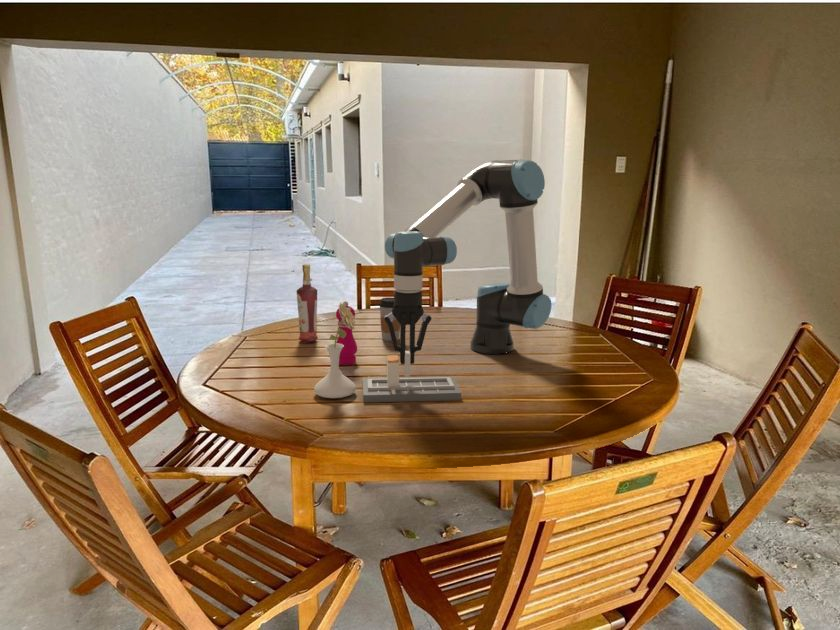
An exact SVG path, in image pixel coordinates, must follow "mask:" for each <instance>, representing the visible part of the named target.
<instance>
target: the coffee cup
mask: <svg viewBox="0 0 840 630" xmlns="http://www.w3.org/2000/svg"><path fill="white" fill-rule="evenodd" d="M378 306H379V310H380V311H379V312H380V313H379V314H380V330H381V338H382V340H383V341H385V342H392V339H391V334H390V330H389V326H388V324H387V323H386V321H385V320H384V316H385V315H388V314H390V313H391V312H392V309H393V307H394V297H384V298H380V302H379V305H378ZM392 324H393V328H394V332H395V336H396V340H397V341H399V339H400V323H399V322H398V321H397V319H396V318H395V317H394V316H393V322H392Z"/></svg>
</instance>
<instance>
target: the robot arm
mask: <svg viewBox="0 0 840 630" xmlns="http://www.w3.org/2000/svg"><path fill="white" fill-rule="evenodd" d="M545 180H546V179H545V175H544V172H543V170H542V168H541V166H539V165H538V163H537V162H535V161H534V160H531V159H530V160H529V159H527V160H526V159H509V160H508V159H507V160H506V159H505V160H491V161H488V162H485V163H483V164H481V165H479V166H477V167H475V168H474V169H473V170H471V171H470V172H468V173H467V174H466V175H465V176H463V177H462V178H460V179H459V180H458V182H457V186H456V187H455V188H454V189H453V190H452V191H450V192H449V193H448V194H446V196H445V197H443V198H442V199H441V200H440V201H439V202H437V203H436V204H434V205H433V206H432V207H431V208H429V210H428V211H427V212H425V213H424V214H423V215H422V216H421V217H419V218H418V219H417V220H416V221H414V222H413V223H412V224H411V225H410V226H409V227H408V228H407V229H405V230H403V231H401V230H400V231H397V232H396V233H391V234H390V235H388V237H387V238H386V240H385V242H384V251H385V253H386V255H387V256H388V257H389V258H391V259H393V273H394V274H393V289H394V291H393V298H394V307H393V309H392V312H391V313H390V314H388V315H385V316H384V320H385V321H386V323H387V324H388V326H389V330H390V334H391V339H392V341H391V342H392V345H393V350H394V351H395V352H399V363H400V364H401V365H403V375H404V376H403V377H411V365H412V364H413V365H414V363H415V353H417V352H418V351H421V350H422V349H423V348H422V347H423V343H424V340H425V336H426V333H427V329H428V326H429V324H430V322H431V321H432V316H431V315H430V314H427V313H426V312H425V311H424V308H423V292H422V289H423V270H424V267H430V266H431V267H433V266H444V265H447V264H451V263H453V262H454V261H455V260H456V258H457V253H458V250H457V249H458V247H457V244H456V243H455V241H454V240H453V239H452V238H451V237H448V236H447V237H446V236H445V237H444V236H439V235H441V234H442V233H443V232H444V231H445V230H446V229H447V228H448V227H449V226H451V225H452V224H453V223H454V222H456V220H457V219H459V218H460V217H461V216H462V215H463V214H465V213H466V212H467V211H468V210H470V208H471V207H473V206H475V207H476V206H478V205H480V204H481V203H482V202H483V201H486V200H490V199H498V202H499V208H501V210H503V211H504V214H505V225H506V227H505V229H506V240H507V252H508V263H509V275H510V276H509V277H510V283H505V282H504V283H502V282H501V283H489V284H482V285H481V286H479V287H477V288H478V289H477V296H476V321H475V322H476V323H475V328H474V332H473V334H472V338H471V340H470V349H471V350H472V351H474V352H477V353H480V354H489V355H500V354H499V353H505V354H507V353H506V352H509V353H511V352H510V351H512V350H513V351H514V346H515V344H514V339H513V336H512V333H511V329H510V327H511V326H510V325H513V326H517V327H520V328H521V327H522V328H524V329H532V330H537V329H539V328H542V327H543V326H544V325H545V324H546V322H547V321H548V318H549V317H550V314H551V313H552V312H551V311H552V300H551V298H550V297H549V296H548V295H546V294H544V288H543V284H542V283H541V282H539V281H538V267H537V265H538V264H537V249H536V237H535V236H536V235H535V220H534V208H535V207H537V205H538V200H539V198H541V196H542V195H543V194H544V191H543V190H544V189H545V184H546V181H545ZM438 236H439V237H438ZM393 316H394V317H395V318H396V319H397V321H398V322H399V323H400V332H399V344H400V345H398V340H396V336H395V332H394V328H393V324H392V322H393ZM420 319H421V320H422V323H421V326H420V330H419V333H418V337H417V341H416V324H417V323H418V322H419V321H420ZM406 325H409V347H408V348H409V350H406ZM415 342H416V343H415ZM513 351H512V352H513Z"/></svg>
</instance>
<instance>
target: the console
mask: <svg viewBox="0 0 840 630" xmlns="http://www.w3.org/2000/svg"><path fill="white" fill-rule="evenodd" d="M362 398H363V399H362V401H363V403H387V402H389V403H390V402H391V403H393V402H396V403H397V402H430V401H431V402H433V401H436V402H437V401H461V400H462V391H461V389H460V388H459V385H458V384H457V381H456V380H455V378H454V376H453V375H447V376H446V375H444V376H443V375H441V376H440V375H439V376H438V375H437V376H410V377H405V376H399V386H387V376H386V377H385V376H384V377H383V376H382V377H362Z"/></svg>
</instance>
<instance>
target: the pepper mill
mask: <svg viewBox="0 0 840 630" xmlns="http://www.w3.org/2000/svg"><path fill="white" fill-rule="evenodd" d="M343 303H345V304H346V307H347V308H350V310H351V313H352V314H353V316H354V317H355V318H356V311H355V308H353V307H352V306H351V305H349V303H348V301H346V300H344V301H343V302H342V304H343ZM335 312H336V313H335V316H336V319H337V320H338V321H337V326H338V327H339V324H340V322H341V320H342V318H341V316H340V313H339V307H338V308H337V309H336V311H335ZM339 329H342V330H344V331H345V332H346V336H345V337H344V338H341V337H340V336H339V335H338V337H339V338H338V339H337V340H336V343H339V344H343V345H344V347H343V348H342V350H341V352H340V356H339V365H341V366H347V365H353V364H355V363H356V362H357V356H356V355H355V354H356V353H357V352H358V345H357V342H356V340H355V338H354V334H353V330H352V329H350V328H347V326H346V325H345V324H344V322H343V321H342V323H341V325H340V328H339Z"/></svg>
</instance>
